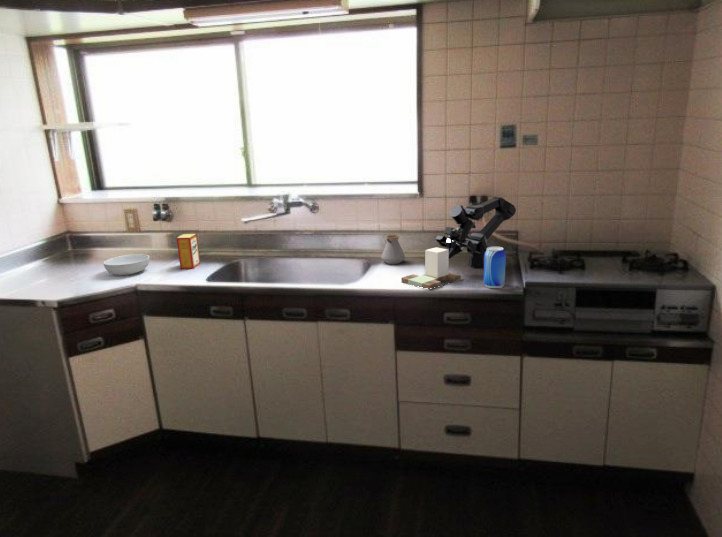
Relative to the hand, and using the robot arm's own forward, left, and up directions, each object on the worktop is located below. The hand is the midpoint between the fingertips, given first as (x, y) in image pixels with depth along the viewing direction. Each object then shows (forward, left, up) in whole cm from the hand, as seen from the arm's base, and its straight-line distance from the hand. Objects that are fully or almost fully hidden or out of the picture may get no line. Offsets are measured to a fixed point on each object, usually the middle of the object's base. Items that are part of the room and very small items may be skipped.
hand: (446, 259), depth 231 cm
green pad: (+13, +6, -8) cm, 17 cm away
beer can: (-12, +21, -8) cm, 25 cm away
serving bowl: (+139, -64, -8) cm, 153 cm away
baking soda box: (+110, -64, -8) cm, 128 cm away
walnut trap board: (+9, +4, -8) cm, 12 cm away
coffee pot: (+16, -27, -8) cm, 33 cm away
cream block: (+5, +2, -6) cm, 8 cm away
